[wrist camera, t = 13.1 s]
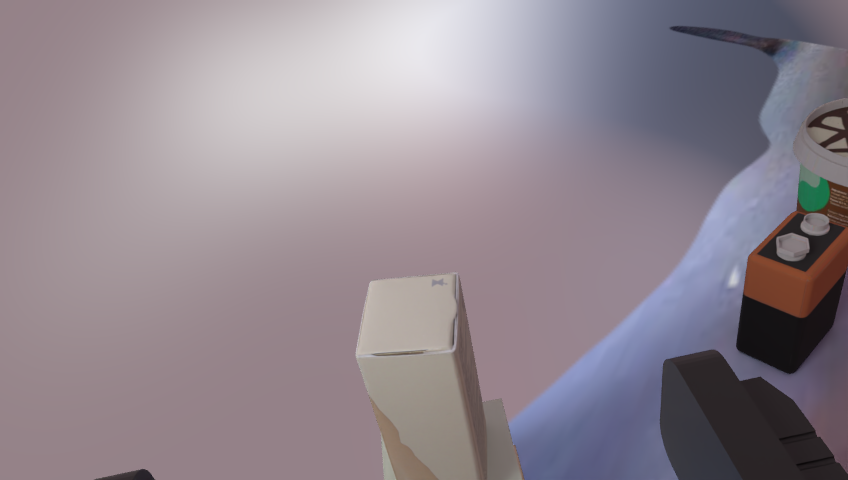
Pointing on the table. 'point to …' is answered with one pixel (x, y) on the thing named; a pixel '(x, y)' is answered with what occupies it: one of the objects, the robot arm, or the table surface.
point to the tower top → (499, 446)
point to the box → (423, 378)
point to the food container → (824, 162)
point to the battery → (792, 290)
